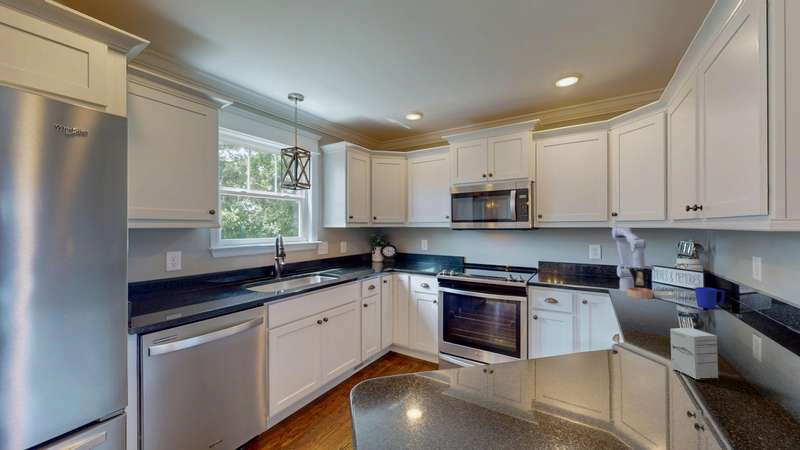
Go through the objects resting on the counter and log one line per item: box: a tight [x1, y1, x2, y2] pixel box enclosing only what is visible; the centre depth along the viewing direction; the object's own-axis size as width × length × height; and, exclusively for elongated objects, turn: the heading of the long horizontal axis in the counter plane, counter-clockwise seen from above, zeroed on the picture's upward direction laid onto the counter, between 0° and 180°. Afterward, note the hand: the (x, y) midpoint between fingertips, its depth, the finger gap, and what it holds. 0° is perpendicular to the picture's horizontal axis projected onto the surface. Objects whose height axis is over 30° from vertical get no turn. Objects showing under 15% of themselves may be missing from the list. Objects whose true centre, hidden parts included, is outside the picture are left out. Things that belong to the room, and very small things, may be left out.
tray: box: [653, 290, 681, 300], centre depth 187 cm, size 12×12×2 cm
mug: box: [694, 286, 725, 310], centre depth 160 cm, size 8×12×10 cm
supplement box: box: [669, 327, 719, 379], centre depth 89 cm, size 7×7×13 cm
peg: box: [634, 271, 645, 287], centre depth 188 cm, size 4×4×8 cm
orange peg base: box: [626, 287, 654, 299], centre depth 188 cm, size 13×13×5 cm
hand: (639, 281), depth 188 cm, fingers closed on peg, 4 cm apart
